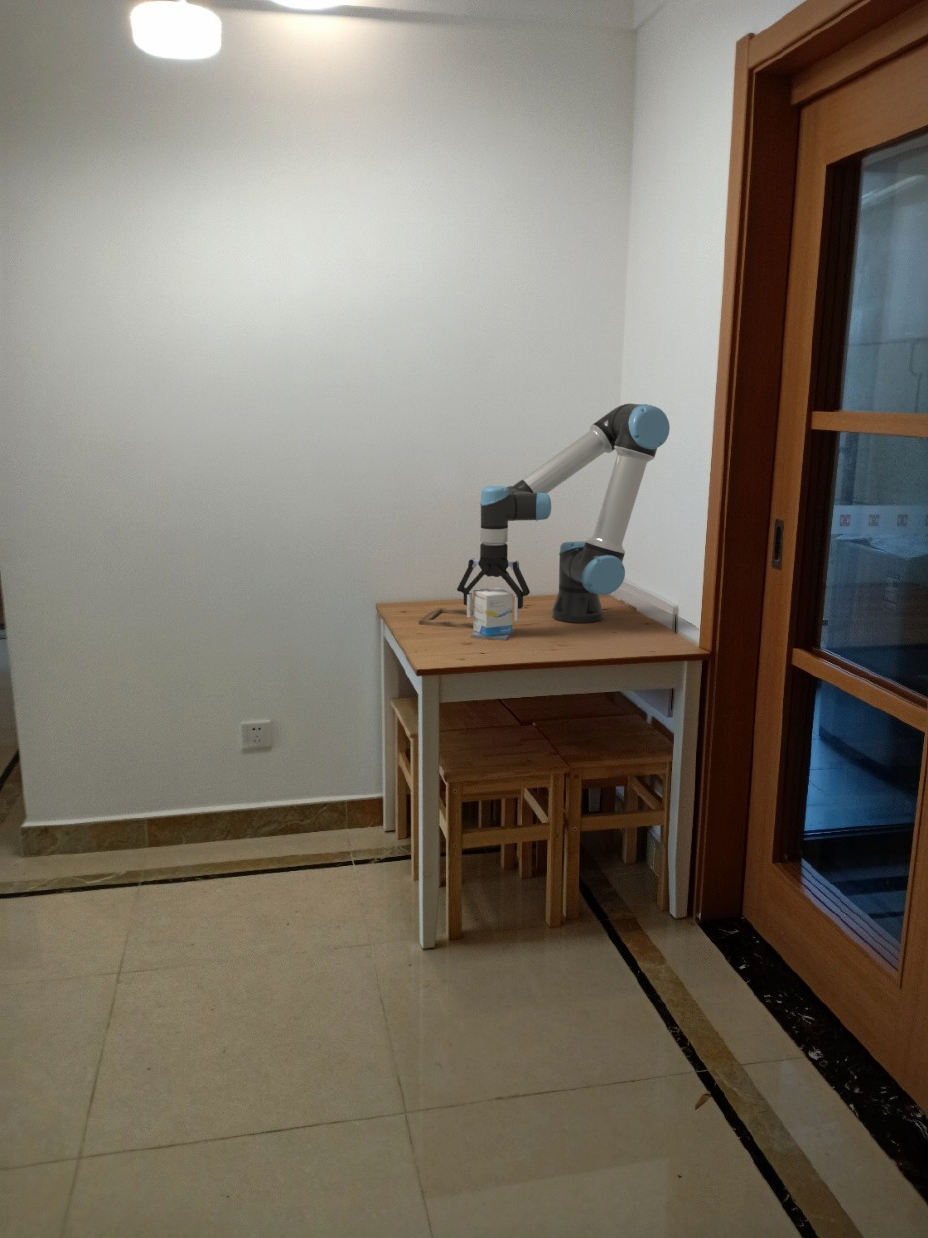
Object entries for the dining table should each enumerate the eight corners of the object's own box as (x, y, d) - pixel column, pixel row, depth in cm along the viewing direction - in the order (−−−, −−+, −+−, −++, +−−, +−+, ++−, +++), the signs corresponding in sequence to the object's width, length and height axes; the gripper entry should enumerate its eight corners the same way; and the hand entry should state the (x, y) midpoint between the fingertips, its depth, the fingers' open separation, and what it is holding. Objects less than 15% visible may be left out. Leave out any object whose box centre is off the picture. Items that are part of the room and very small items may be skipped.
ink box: (513, 633, 282) (514, 592, 279) (485, 636, 279) (486, 595, 276) (499, 626, 290) (499, 586, 287) (472, 629, 286) (472, 589, 284)
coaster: (514, 631, 288) (514, 628, 288) (506, 640, 278) (506, 637, 278) (479, 629, 290) (479, 626, 290) (470, 637, 281) (470, 634, 281)
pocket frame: (493, 614, 308) (493, 611, 308) (478, 628, 291) (478, 625, 291) (436, 610, 312) (436, 607, 312) (418, 624, 296) (418, 620, 295)
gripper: (541, 543, 279) (539, 618, 284) (454, 538, 285) (453, 612, 290) (535, 547, 272) (534, 624, 277) (446, 542, 278) (446, 618, 283)
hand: (492, 618), depth 283 cm, fingers open, 13 cm apart
